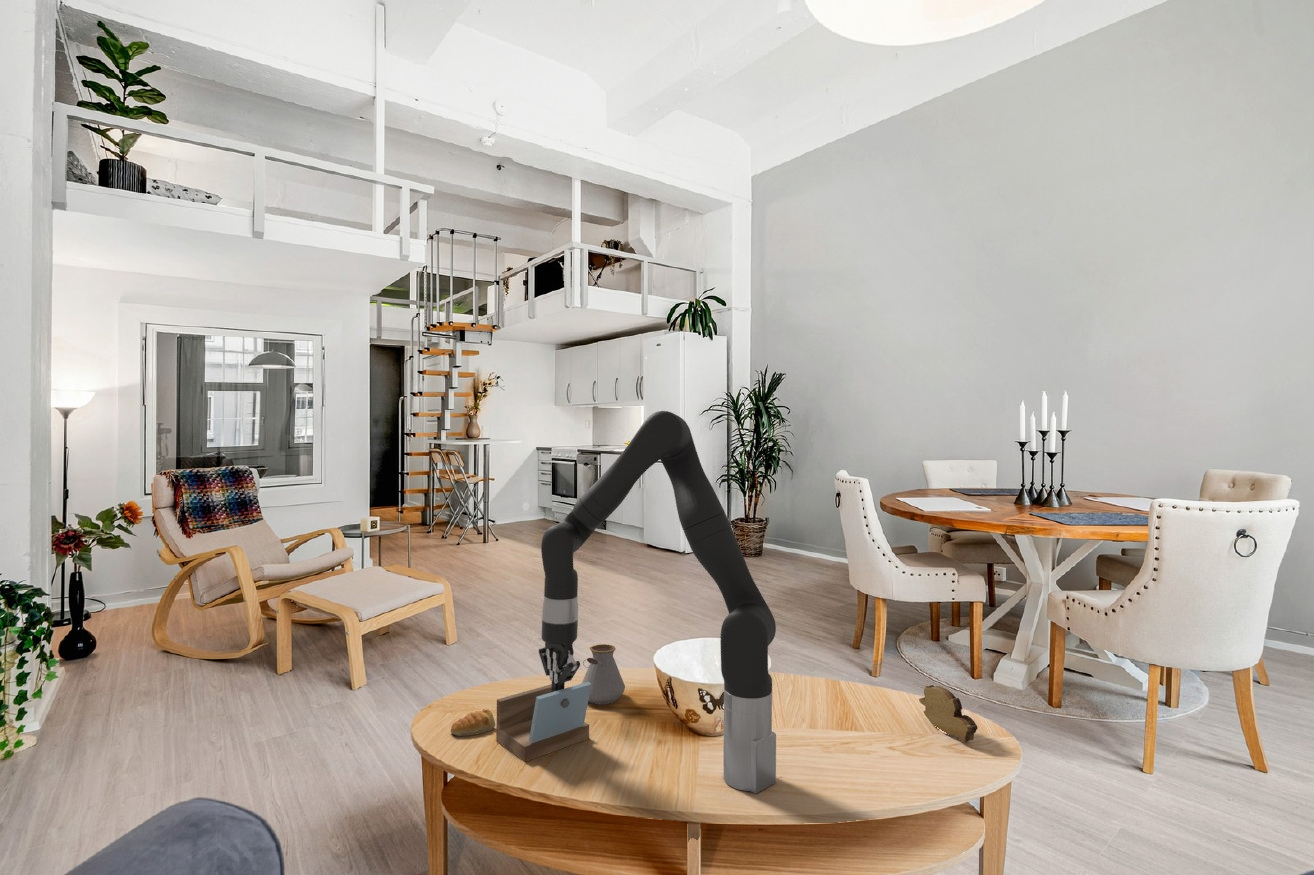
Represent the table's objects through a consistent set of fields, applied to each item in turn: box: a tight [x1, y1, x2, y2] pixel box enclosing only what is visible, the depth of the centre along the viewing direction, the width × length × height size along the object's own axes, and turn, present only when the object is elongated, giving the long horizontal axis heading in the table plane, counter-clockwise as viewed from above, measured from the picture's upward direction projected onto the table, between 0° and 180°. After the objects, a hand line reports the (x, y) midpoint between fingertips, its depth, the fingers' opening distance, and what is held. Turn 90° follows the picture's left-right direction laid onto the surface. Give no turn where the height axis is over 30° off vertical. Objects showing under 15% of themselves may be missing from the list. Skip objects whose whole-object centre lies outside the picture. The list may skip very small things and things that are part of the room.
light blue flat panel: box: [529, 682, 591, 743], centre depth 134 cm, size 2×13×10 cm, turn 132°
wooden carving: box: [918, 684, 979, 743], centre depth 145 cm, size 16×5×10 cm, turn 20°
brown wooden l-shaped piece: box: [495, 683, 590, 762], centre depth 140 cm, size 12×16×9 cm
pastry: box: [450, 708, 496, 737], centre depth 144 cm, size 9×7×4 cm
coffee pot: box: [581, 643, 626, 705], centre depth 158 cm, size 21×12×15 cm, turn 171°
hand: (557, 698), depth 136 cm, fingers closed
